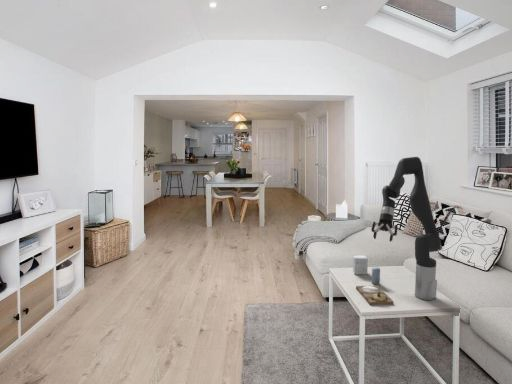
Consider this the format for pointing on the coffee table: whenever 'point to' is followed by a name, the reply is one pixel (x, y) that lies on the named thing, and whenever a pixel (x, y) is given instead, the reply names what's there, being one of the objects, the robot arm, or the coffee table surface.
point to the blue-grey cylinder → (375, 276)
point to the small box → (360, 264)
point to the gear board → (374, 295)
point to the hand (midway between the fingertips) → (382, 239)
